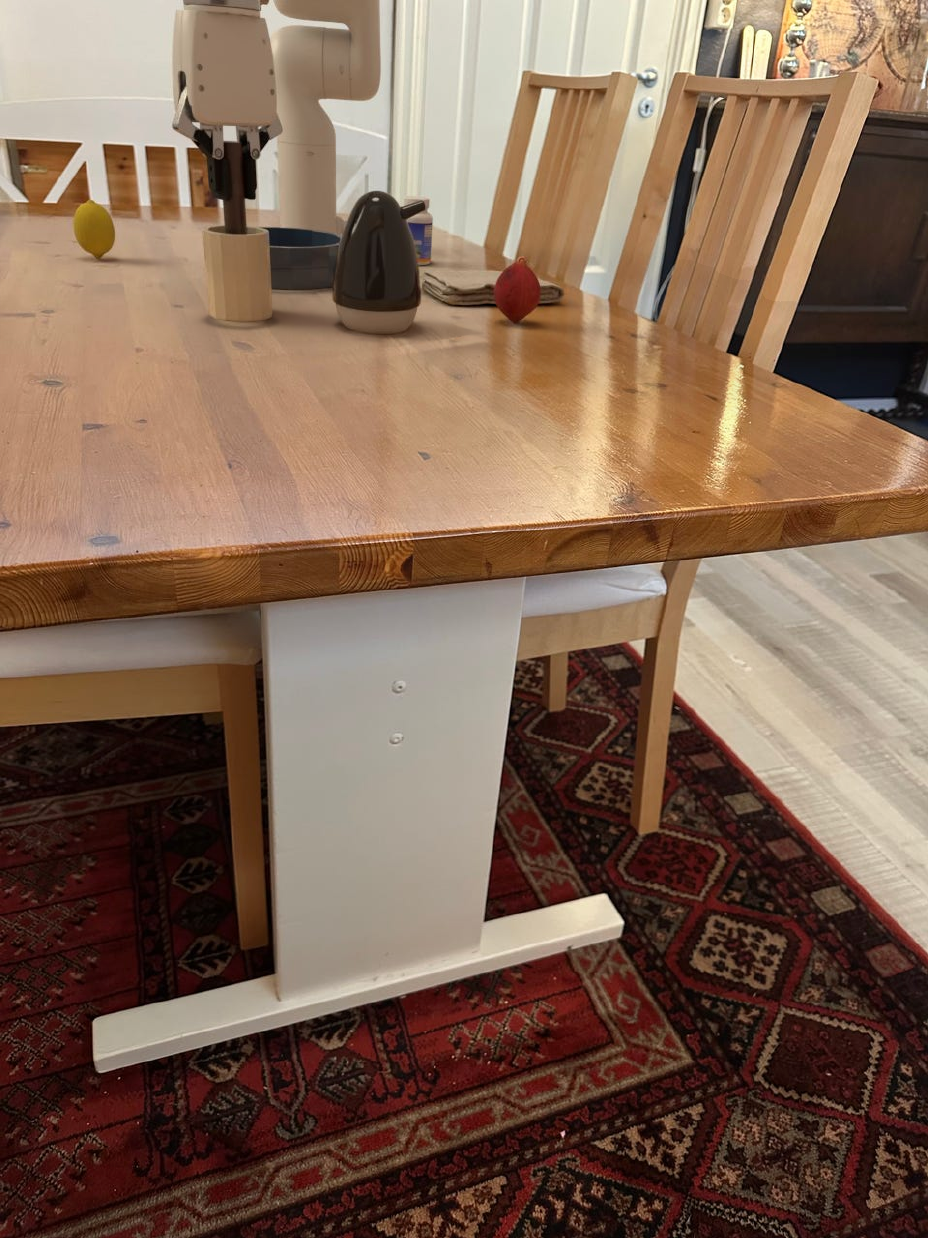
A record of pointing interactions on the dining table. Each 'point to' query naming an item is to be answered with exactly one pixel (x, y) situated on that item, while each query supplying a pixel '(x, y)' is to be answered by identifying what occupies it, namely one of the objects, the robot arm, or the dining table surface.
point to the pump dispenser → (377, 266)
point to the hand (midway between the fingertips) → (233, 196)
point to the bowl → (302, 258)
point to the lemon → (94, 229)
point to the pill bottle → (421, 230)
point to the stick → (235, 190)
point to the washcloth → (476, 287)
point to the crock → (238, 274)
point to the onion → (517, 291)
